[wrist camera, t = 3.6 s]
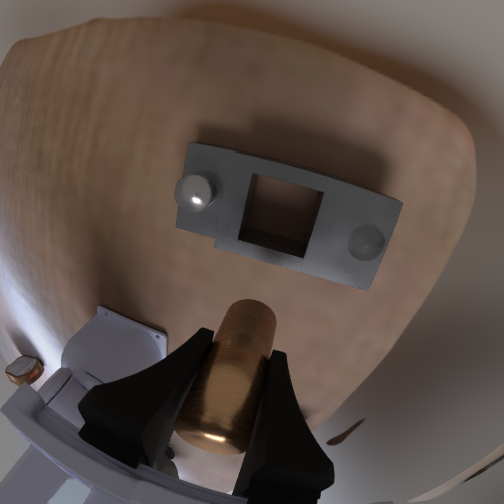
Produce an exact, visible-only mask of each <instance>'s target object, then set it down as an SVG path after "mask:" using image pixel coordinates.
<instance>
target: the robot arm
mask: <svg viewBox="0 0 504 504" xmlns="http://www.w3.org/2000/svg"><path fill="white" fill-rule="evenodd" d="M158 335H159V336H158ZM213 335H214V331H212V330H209V329H206V328H203V327H202V328H200V329H199V330H198V331H197V332H196V333H195V334H194V335H193V336H192V337H191V338H190V339H189V340H188V341H186V342H185V343H184V344H183V345H181V346H180V347H179V348H178V349H176V350H175V351H174V352H172V353H171V354H169V355H168V356H167V336H166V335H165V334H164V333H162V332H159V331H157V330H154V329H152V328H149V327H147V326H144V325H142V324H140V323H137V322H135V321H133V320H130V319H128V318H126V317H124V316H121V315H119V314H117V313H115V312H113V311H110V310H108V309H106V308H104V307H102V306H98V307H97V314H96V315H95V316H94V317H93V318H92V319H91V320H90V321H89V322H88V323H86V324H85V325H84V326H83V327H82V328H81V329H80V330H79V331H78V332H77V333H76V334H75V335H74V336H73V337H72V338H71V339H70V340H69V342H68V343H67V344H66V346H65V348H64V351H63V353H62V357H61V368H59V369H58V370H57V371H56V372H55V373H54V374H53V375H52V376H51V377H50V378H49V379H48V380H47V381H46V382H45V383H44V384H43V385H42V387H41V388H40V389H39V390H38V391H37V392H36V391H35V390H34V389H33V388H32V387H31V386H29V385H28V384H27V383H26V382H24V383H23V384H22V385H21V386H20V387H19V388H18V389H17V390H16V392H15V393H14V394H13V395H12V396H11V397H10V398H9V400H8V401H7V402H6V403H5V404H4V405H3V406H2V408H1V409H0V411H1V413H2V414H3V415H4V416H5V418H6V419H7V420H8V421H9V422H10V423H11V424H12V426H13V427H14V428H15V429H16V430H17V431H18V432H19V433H20V434H21V435H22V436H23V437H24V438H25V439H26V440H27V441H28V442H30V447H29V448H28V449H27V450H26V451H25V453H24V454H23V455H22V456H21V458H20V459H19V460H18V461H17V462H16V464H15V465H14V466H13V467H12V469H11V470H10V471H9V472H8V474H7V475H6V476H5V477H4V479H3V480H2V481H1V483H0V504H48V503H49V502H50V500H51V499H52V498H53V497H54V496H55V495H56V493H57V492H58V491H59V490H60V489H61V487H62V486H63V485H64V484H65V483H66V482H67V480H69V479H74V480H78V481H80V482H81V483H82V484H84V485H86V486H87V487H89V488H90V489H92V490H91V492H90V493H89V495H88V497H87V499H86V500H85V502H84V504H317V500H318V499H320V496H321V491H323V490H325V489H327V488H328V487H330V486H331V485H333V484H334V478H335V477H334V476H335V475H334V466H333V463H332V461H331V460H330V459H329V458H328V457H327V455H326V454H325V453H324V451H323V450H322V448H321V447H320V446H319V444H318V443H317V441H316V439H315V438H314V436H313V434H312V433H311V431H310V429H309V427H308V425H307V423H306V421H305V419H304V417H303V415H302V413H301V410H300V408H299V405H298V402H297V399H296V396H295V393H294V390H293V386H292V383H291V379H290V374H289V369H288V363H287V355H286V353H284V352H281V351H277V350H273V352H272V354H271V357H270V359H269V363H268V367H267V372H266V377H265V381H264V386H263V390H262V395H261V399H260V403H259V407H258V412H257V416H256V420H255V424H254V428H253V432H252V436H251V440H250V444H249V448H248V450H247V451H246V453H245V457H244V460H243V463H242V466H241V469H240V472H239V475H238V478H237V481H236V484H235V487H234V490H233V493H232V495H230V494H226V493H222V492H218V491H214V490H211V489H208V488H204V487H201V486H198V485H195V484H192V483H189V482H186V481H183V480H180V479H178V478H175V477H172V476H170V475H167V474H165V473H162V472H160V471H158V469H159V466H160V464H161V461H162V458H163V456H164V453H165V451H166V448H167V446H168V443H169V441H170V438H171V436H172V433H173V431H174V427H173V423H174V421H175V419H176V417H177V415H178V413H179V411H180V409H181V407H182V404H183V402H184V400H185V398H186V396H187V394H188V392H189V390H190V388H191V386H192V384H193V382H194V380H195V377H196V375H197V373H198V371H199V369H200V367H201V365H202V363H203V361H204V359H205V357H206V355H207V352H208V350H209V348H210V346H211V344H212V340H213ZM127 472H128V473H127ZM129 473H130V474H132V475H134V476H136V477H138V478H140V479H142V480H141V481H140V480H137V479H135V478H133V477H130V474H129ZM371 504H393V502H392V501H389V502H379V503H371Z"/></svg>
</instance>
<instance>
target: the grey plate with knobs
mask: <svg viewBox="0 0 504 504" xmlns="http://www.w3.org/2000/svg"><path fill="white" fill-rule="evenodd" d="M258 175H263V176H267V177H271V178H275V179H279V180H282V181H286V182H290V183H293V184H297V185H300V186H304V187H307V188H311V189H314V190H318V191H320V192H319V196H318V199H317V203H316V206H315V209H314V213H313V216H312V219H311V223H310V226H309V229H308V232H307V236H306V239H305V242H304V243H302V242H299V241H295V240H292V239H288V238H285V237H281V236H278V235H274V234H271V233H267V232H263V231H260V230H256V229H253V228H249V227H247V222H248V218H249V214H250V209H251V205H252V201H253V196H254V192H255V188H256V183H257V179H258ZM174 194H175V199H176V202H177V204H178V212H177V220H176V227H177V228H180V229H184V230H187V231H191V232H194V233H198V234H201V235H205V236H208V237H212V238H215V244H214V247H215V248H219V249H222V250H226V251H229V252H233V253H236V254H240V255H243V256H247V257H250V258H254V259H257V260H261V261H264V262H267V263H271V264H274V265H278V266H281V267H285V268H289V269H292V270H296V271H299V272H303V273H306V274H310V275H313V276H317V277H320V278H324V279H327V280H331V281H334V282H338V283H342V284H345V285H349V286H352V287H356V288H359V289H363V290H366V291H368V290H369V288H370V285H371V283H372V281H373V279H374V277H375V274H376V272H377V270H378V268H379V265H380V263H381V261H382V258H383V256H384V253H385V251H386V248H387V246H388V243H389V241H390V238H391V236H392V233H393V230H394V228H395V225H396V222H397V220H398V217H399V214H400V211H401V208H402V205H403V203H402V202H400V201H399V200H397V199H395V198H393V197H390V196H388V195H385V194H382V193H380V192H377V191H374V190H371V189H368V188H366V187H363V186H360V185H357V184H354V183H351V182H348V181H347V180H346V179H344V178H341V177H337V176H334V175H331V174H328V173H325V172H321V171H318V170H315V169H311V168H308V167H304V166H301V165H297V164H293V163H290V162H286V161H282V160H278V159H274V158H270V157H266V156H262V155H258V154H254V153H249V152H245V151H240V150H235V149H231V148H226V147H221V146H216V145H210V144H205V143H199V142H189V144H188V149H187V155H186V160H185V166H184V172H183V178H181V179H180V180H179V181H178V183H177V184H176V187H175V192H174Z"/></svg>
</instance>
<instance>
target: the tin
mask: <svg viewBox="0 0 504 504" xmlns="http://www.w3.org/2000/svg"><path fill="white" fill-rule="evenodd" d="M5 372H6V374H7V376H8V377H9V379H10V381H11V382H13V383H15V384H16V385H18V386H21V385H22V384H23V383H24V382H26V383H27V384H28V385H30V384H32V383H34V382H35V381H36V380H37V379H39V378H40V376H41V375H42V374H43V372H44V367H43V366H42V364H41V363H40V361H39V360H38V359H37V358H34V357H30V356H21V357H19V358H17V359H16V360H15V361H14V362H13V363H12V364H10V365H9V366H8V367H7V368H6V371H5Z"/></svg>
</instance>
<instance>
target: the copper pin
mask: <svg viewBox="0 0 504 504" xmlns="http://www.w3.org/2000/svg"><path fill="white" fill-rule="evenodd" d="M276 324H277V321H276V317H275V314H274V313H273V311H272V310H271V309H270V308H269V307H268V306H267V305H265V304H264V303H262V302H259V301H256V300H251V299H244V300H240V301H237V302H235V303H233V304H232V305H231V306H230V307H229V309H228V311H227V313H226V315H225V317H224V319H223V321H222V323H221V325H220V327H219V329H218V332H217V334H216V336H215V338H214V340H213V342H212V344H211V346H210V348H209V350H208V352H207V355H206V357H205V359H204V361H203V363H202V365H201V367H200V369H199V371H198V373H197V375H196V377H195V380H194V382H193V384H192V386H191V388H190V390H189V392H188V394H187V396H186V398H185V400H184V402H183V404H182V407H181V409H180V411H179V413H178V415H177V417H176V419H175V421H174V423H173V427H174V430H175V431H176V432H177V434H178V435H179V436H180V437H182V438H183V439H184V440H185V441H187V442H189V443H190V444H192V445H194V446H196V447H198V448H201V449H203V450H206V451H209V452H213V453H218V454H225V455H235V454H241V453H243V452H245V451H247V450H248V448H249V444H250V440H251V436H252V432H253V428H254V424H255V420H256V416H257V412H258V407H259V403H260V399H261V395H262V390H263V386H264V381H265V377H266V372H267V367H268V363H269V359H270V354H271V349H272V344H273V339H274V335H275V330H276Z"/></svg>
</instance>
